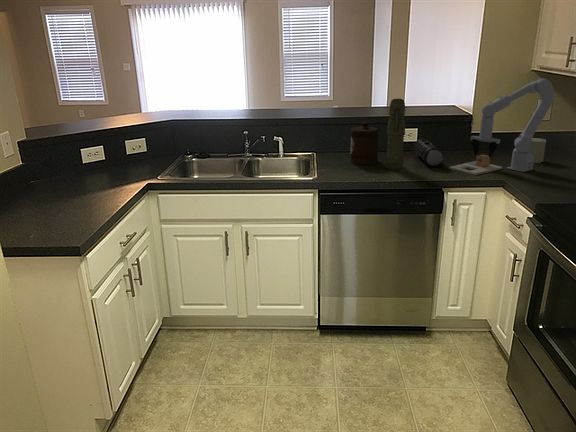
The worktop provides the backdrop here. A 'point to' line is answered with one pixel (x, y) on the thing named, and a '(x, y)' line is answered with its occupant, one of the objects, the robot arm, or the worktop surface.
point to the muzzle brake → (428, 152)
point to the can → (537, 149)
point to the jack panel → (475, 168)
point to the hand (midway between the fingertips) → (483, 155)
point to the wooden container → (364, 144)
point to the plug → (482, 161)
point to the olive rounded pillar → (396, 135)
